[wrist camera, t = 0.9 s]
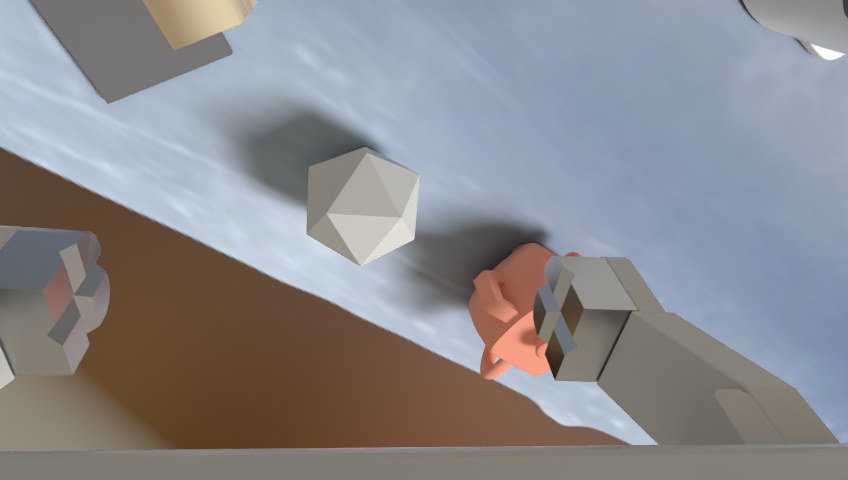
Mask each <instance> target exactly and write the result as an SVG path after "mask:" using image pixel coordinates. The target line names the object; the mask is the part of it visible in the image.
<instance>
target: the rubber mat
mask: <svg viewBox="0 0 848 480" xmlns="http://www.w3.org/2000/svg"><path fill="white" fill-rule="evenodd" d="M31 1H32V3H33V4H34V5H35V7H36V8H37V9H38V11H39V12H40V14H41V15H42V16H43V18H44V19H45V20H46V22H47V23H48V24H49V26H50V27H51V28H52V30H53V31H54V32H55V34H56V35H57V36H58V38H59V39H60V40H61V42H62V43H63V44H64V46H65V47H66V48H67V50H68V51H69V52H70V54H71V55H72V56H73V58H74V59H75V60H76V62H77V63H78V65H79V66H80V67H81V69H82V70H83V71H84V73H85V74H86V75H87V77H88V78H89V79H90V81H91V82H92V83H93V85H94V86H95V87H96V89H97V90H98V91H99V93H100V94H101V95H102V97H103V98H104V99H105V101H106V102H107V103H108V104H109V103H112V102H114V101H117V100H119V99H122V98H124V97H127V96H129V95H132V94H134V93H137V92H139V91H142V90H144V89H147V88H149V87H152V86H154V85H157V84H159V83H162V82H164V81H167V80H169V79H172V78H174V77H177V76H179V75H182V74H184V73H187V72H189V71H192V70H194V69H196V68H199V67H201V66H204V65H206V64H209V63H211V62H214V61H216V60H219V59H221V58H224V57H226V56H229V55H231V54H232V53H233V51H232V49H231V48H230V46H229V44H228V42H227V41H226V39H225V37H224V35H223V33H222V32H219V33H217V34H214V35H212V36H209V37H207V38H204V39H202V40H199V41H197V42H195V43H192V44H190V45H187V46H185V47H182V48H180V49H177V50H175V51H174V50H173V48H172V47H171V45H170V44H169V42H168V40H167V39H166V37H165V36H164V34H163V32H162V31H161V29H160V28H159V26H158V24H157V23H156V21H155V20H154V18H153V16H152V15H151V13H150V12H149V10H148V8H147V7H146V5H145V4H144V2H143V0H31Z"/></svg>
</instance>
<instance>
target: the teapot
mask: <svg viewBox="0 0 848 480" xmlns="http://www.w3.org/2000/svg"><path fill="white" fill-rule="evenodd" d="M551 256H557V255H556V254H554V253H552V252H551V251H549V250H548V249H546V248H544V247H543V246H541V245H539V244H537V243H528V244H520V245H518V246H516V247H515V248H514V249H513V251H512V254H511V255H509V256H508V257H507V258H505V259H504V260H503V261H502V262H500V263H499V264H498V265H497V266H496V267H495V268H494V269H493V270H484V271H483V272H481V273H480V274H479V275H478V276H477V277H476V278H475V279H474V280H473V282H474V284H475V287H476V289H475V290H474V292H473V294H472V295H471V298H470V302H469V311H470V315H471V318H472V321H473V323H474V326H475V328H476V330H477V332H478V334H479V335H480V337H481V339H482V340H483V342H484V343H485V345H486V346H485V349H484V352H483V355H482V359H481V365H480V372H481V375H482V376H483V377H484V378H485V379H493V378H496V377H498V376H499V375H501V374H502V373H503V372H505V371H506V370H507V369H508V368H509V367H510V366H511V365H514V366H515V367H517V368H519V369H521V370H523V371H525V372H527V373H530V374H532V375H535V376H536V375H540V374H543V373H545V372H546V371H548V370H550V366H549V364H548V361H547V359H546V356H545V351H546V348H547V346H548V344H547V343H546V342H544V341H543V340H542V339H541V338H539V337H538V335H537V332H536V329H535V326H534V320H533V305H534V300H535V297H536V293H537V290H538V289H539V288H540V287H542V286H543V285H544V284H545V283H547V279H546V277H545V275H544V269H545V266H546V264H547V261H548V260H549V259H550V257H551ZM565 256H571V257H581V256H580V255H579V254H578V253H575V252H571V253H568V254H566V255H565ZM496 356H498V357H499V358H501V359H499V360H498V361H497V362H496V363H495V359H496Z"/></svg>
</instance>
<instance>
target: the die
mask: <svg viewBox="0 0 848 480" xmlns="http://www.w3.org/2000/svg"><path fill="white" fill-rule="evenodd" d="M419 176H420V174H418V173H416V172H414V171H412V170H410V169H408V168H406V167H404V166H402V165H400V164H399V163H397V162H395V161H393V160H391V159H389V158H387V157H385V156H383V155H381V154H379V153H377V152H375V151H373V150H371V149H369V148H367V147H362V148H360V149H357V150H354V151H351V152H349V153H346V154H343V155H340V156H338V157H335V158H332V159H329V160H326V161H324V162H321V163H318V164H315V165H313V166H310V167H308V201H307V235H309V236H310V237H312V238H314V239H315V240H317V241H319V242H320V243H322V244H324V245H325V246H327V247H329V248H331V249H332V250H334V251H336V252H337V253H339V254H341V255H342V256H344V257H346V258H347V259H349V260H351V261H352V262H354V263H356V264H358V265H359V266H362V265H364V264H366V263H368V262H370V261H372V260H374V259H376V258H378V257H380V256H382V255H384V254H386V253H388V252H390V251H392V250H394V249H396V248H398V247H400V246H402V245H404V244H406V243H408V242H410V241H412V240H414V238H415V226H416V213H417V201H418V188H419Z"/></svg>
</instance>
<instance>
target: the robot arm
mask: <svg viewBox="0 0 848 480" xmlns="http://www.w3.org/2000/svg"><path fill="white" fill-rule="evenodd" d="M743 2H744V4H745V6H746V8H747V10H748V11H749V13H750V14H751V15H752V16H753V18H754V19H755V20H756V21H757V22H759V23H760V24H761V25H763V26H764V27H766V28H768V29H770V30H772V31H774V32H777V33H781V34H784V35H788V36H791V37H794V38H796V39H798V40H799V41H800V42H801V43H802V45H803V46H804V47H805V48H806V49H807V51H808V52H809V53H810V54H812V55H813V56H815V57H817V58H821V59H824V60H834V59H836V58H839V57H841V56H843V55H845V54H846V55H848V0H743ZM100 254H101V249H100V246H99V243H98V240H97V237H96V236H95V235H94V234H93V233H91V232H88V231H74V230H58V229H44V228H31V227H26V228H24V227H12V226H0V389H1V388H2V387H3V386H5V385H6V384H8V383H9V382H10V381H12V380H13V379H14V376H26V375H28V376H30V375H73V373H74V371H75V370H76V368H77V366H78V364H79V362H80V360H81V359H82V357H83V355H84V353H85V352H86V350H87V348H88V346H89V342H88V338H87V335H86V334H87V333H88V332H90V331H91V330H93V329H95V328H96V327H98V326H100V324H101V322H102V320H103V318H104V316H105V314H106V312H107V307H108V303H109V298H110V289H109V281H108V276H107V273H106V272H105V271H104V270H103V269H102V268H101V267H99V266H98V265H97V264H96V263H95V262H96V260H97V258H98V257H99V255H100ZM544 275H545V277H546V279H547V283H545V284H544V285H543V286H542V287H540V288H539V289H538V290H537V293H536V297H535V300H534V305H533V320H534V326H535V329H536V332H537V335H538V337H539V338H541V339H542V340H543V341H544V342H546V343H547V344H548V346H547V348H546V351H545V356H546V359H547V361H548V364H549V366H550V369H551V372H552V374H553V377H554V379H555V380H556V381H581V382H598V383H597V385H598V386H599V387H600V388H601V389H602V390H603V391H604V392H605V393H606V394H608V395H609V396H610V397H611V398H612V399H613V400H614V401H615V402H616V403H617V404H618V405H619V406H620V407H621V408H622V409H623V410H624V411H625V412H626V413H627V414H628V415H629V416H630V417H631V418H632V419H633V420H634V421H635V422H636V423H637V424H638V425H639V426H640V427H641V428H642V429H643V430H644V431H645V432H646V433H647V434H648V435H649V436H650V437H651V438H652V439H654V440H655V441H656V442H657V443H658V444H659V445H625V446H529V447H528V446H524V447H410V448H408V447H407V448H406V447H403V448H302V449H201V450H200V449H199V450H96V451H95V450H94V451H0V480H848V443H840V442H839V441H838V440H837V439H836V437H835V436H834V435H833V434H832V433H831V431H830V430H829V429H828V428H827V426H826V425H825V424H824V423H823V422H822V420H821V419H820V418H819V417H818V415H817V414H816V413H815V412H814V411H813V409H812V408H811V407H810V406H809V404H808V403H807V402H806V401H805V400H804V398H803V397H802V396H801V395H800V394H799V392H798V391H797V390H796V389H795V388H794V387H792V386H791V385H789V384H787V383H786V382H784V381H782V380H781V379H779V378H778V377H776V376H774V375H773V374H771V373H770V372H768V371H766V370H765V369H763V368H762V367H760V366H758V365H757V364H755V363H753V362H752V361H750V360H749V359H747V358H745V357H744V356H742V355H741V354H739V353H737V352H736V351H734V350H733V349H731V348H729V347H728V346H726V345H725V344H723V343H721V342H720V341H718V340H716V339H715V338H713V337H712V336H710V335H708V334H707V333H705V332H704V331H702V330H700V329H699V328H697V327H696V326H694V325H692V324H691V323H689V322H687V321H686V320H684V319H683V318H681V317H679V316H678V315H676V314H675V313H669V312H665V310H664V309H663V308H662V306H661V305H660V303H659V302H658V300H657V299H656V297H655V296H654V294H653V293H652V291H651V290H650V288H649V287H648V286H647V284H646V283H645V281H644V280H643V278H642V277H641V275H640V274H639V272H638V271H637V269H636V268H635V267H634V265H633V264H632V262H631V261H630V260H628V259H626V258H625V257H600V258H595V257H571V256H551V257H550V259H549V260H548V261H547V264H546V266H545V269H544Z"/></svg>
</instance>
